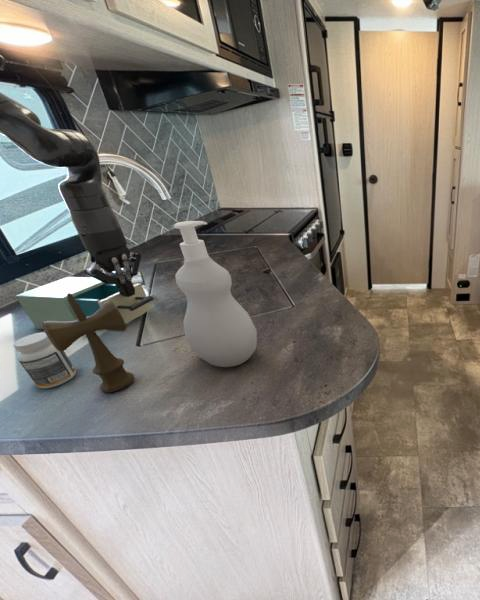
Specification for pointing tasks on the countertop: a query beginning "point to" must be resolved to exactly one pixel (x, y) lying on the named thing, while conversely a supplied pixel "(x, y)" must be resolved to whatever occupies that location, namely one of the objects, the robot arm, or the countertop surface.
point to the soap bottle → (212, 306)
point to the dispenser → (55, 299)
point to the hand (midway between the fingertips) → (129, 295)
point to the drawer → (114, 301)
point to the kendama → (93, 341)
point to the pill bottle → (44, 361)
